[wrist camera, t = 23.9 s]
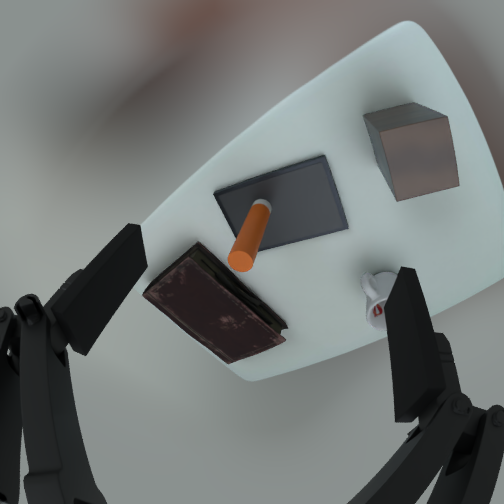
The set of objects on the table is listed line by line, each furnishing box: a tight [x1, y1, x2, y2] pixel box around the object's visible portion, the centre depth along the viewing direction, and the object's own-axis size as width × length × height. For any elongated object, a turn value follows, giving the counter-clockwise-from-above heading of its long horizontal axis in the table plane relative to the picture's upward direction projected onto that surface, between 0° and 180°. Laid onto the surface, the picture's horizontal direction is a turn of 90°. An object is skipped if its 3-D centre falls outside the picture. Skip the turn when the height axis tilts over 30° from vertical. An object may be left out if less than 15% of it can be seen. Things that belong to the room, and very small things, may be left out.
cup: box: [361, 272, 397, 331], centre depth 47 cm, size 11×8×8 cm
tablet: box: [213, 155, 348, 252], centre depth 46 cm, size 12×18×1 cm, turn 114°
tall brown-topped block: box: [363, 102, 459, 202], centre depth 31 cm, size 8×8×12 cm
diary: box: [142, 242, 288, 364], centre depth 59 cm, size 19×25×5 cm
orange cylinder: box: [228, 199, 272, 272], centre depth 40 cm, size 3×3×14 cm
